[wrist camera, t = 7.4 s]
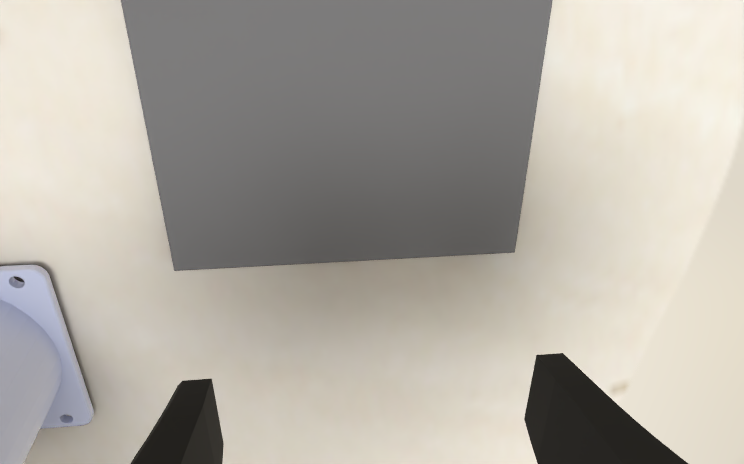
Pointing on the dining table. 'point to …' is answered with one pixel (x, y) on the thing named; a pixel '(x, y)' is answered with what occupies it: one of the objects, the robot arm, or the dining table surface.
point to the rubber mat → (337, 125)
